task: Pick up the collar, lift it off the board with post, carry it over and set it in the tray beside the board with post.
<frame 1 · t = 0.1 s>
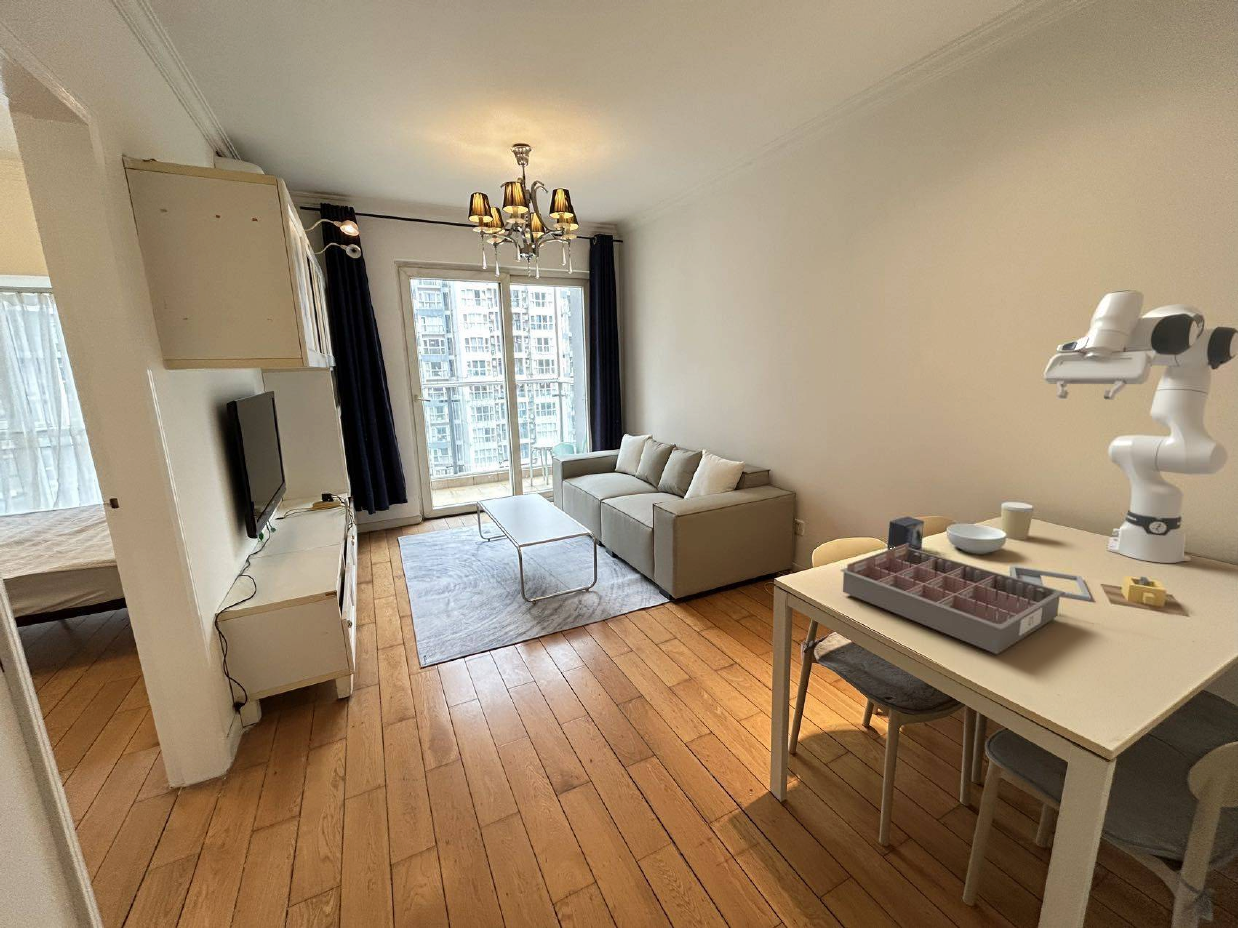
hand: (1084, 398, 128), 54 cm above the table, tool tilted 30°, fingers open, 8 cm apart
tray: (1046, 588, 142), on the table
board with post: (1140, 604, 131), on the table
collar: (1141, 598, 131), point 1 cm above the table, touching board with post
small box: (904, 549, 176), on the table
coffee cup: (1013, 536, 184), on the table
cereal bowl: (973, 550, 173), on the table
organizer tray: (942, 608, 134), on the table
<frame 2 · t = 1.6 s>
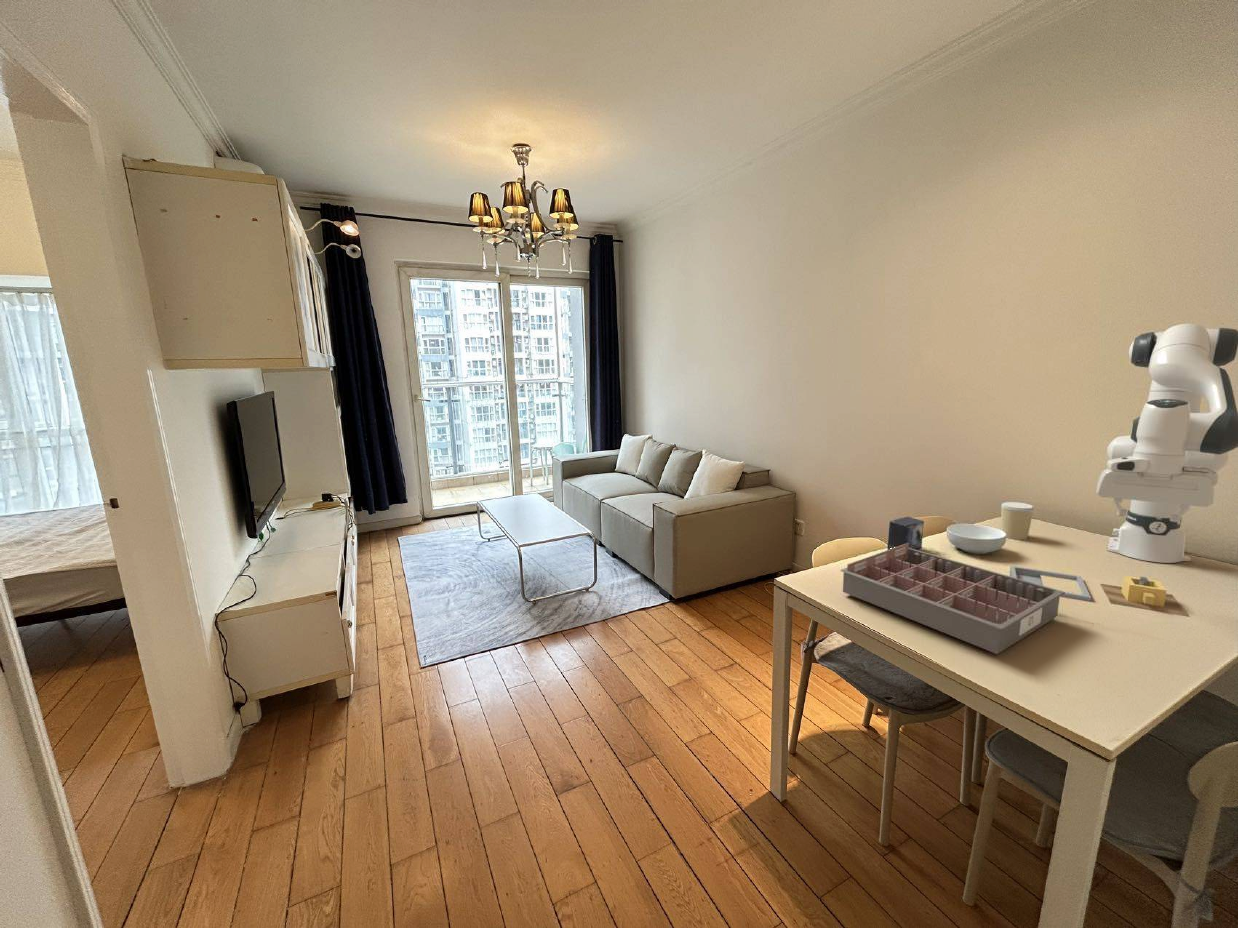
hand: (1147, 518, 127), 24 cm above the table, tool pointing down, fingers open, 8 cm apart
nothing on the table moved.
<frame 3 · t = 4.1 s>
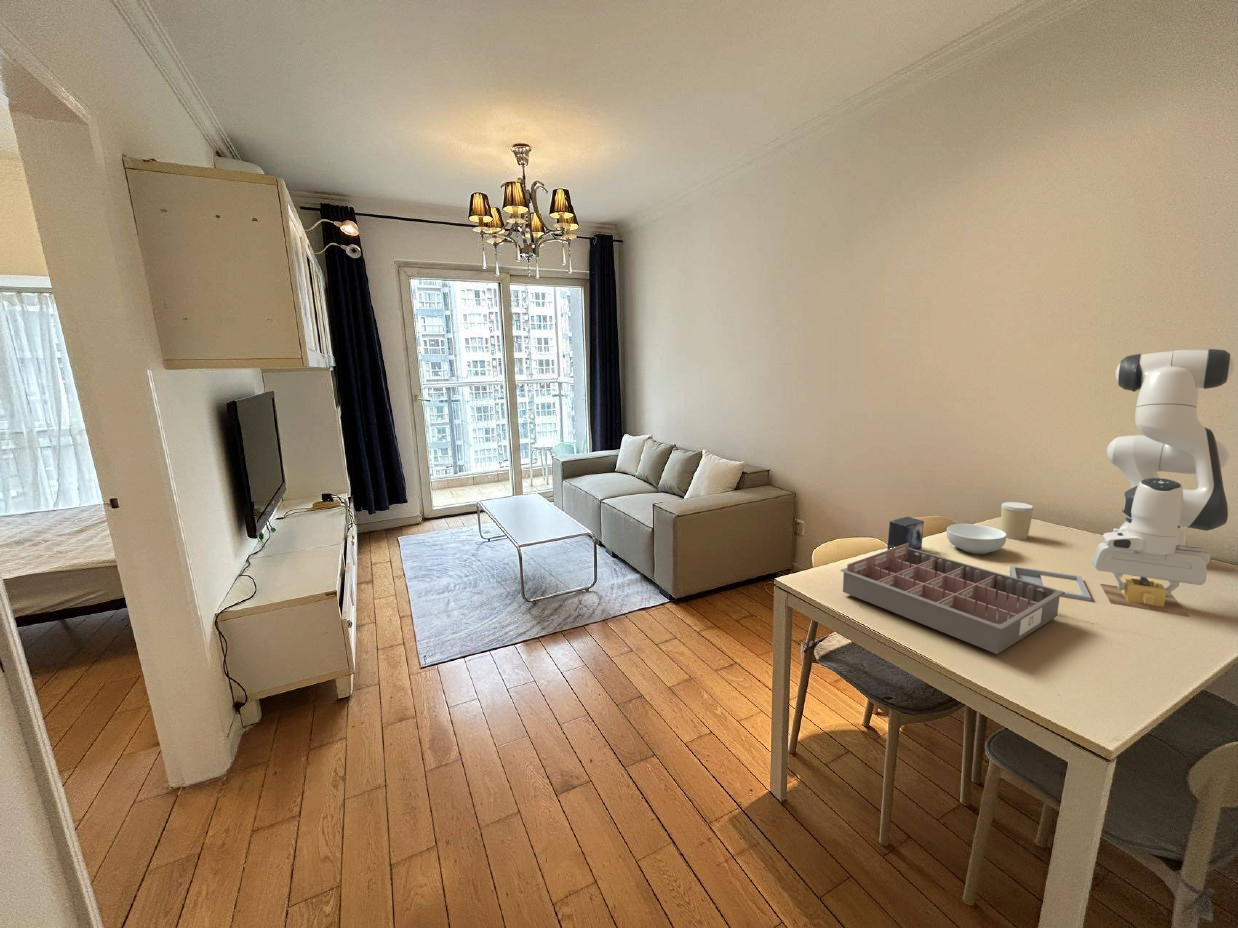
hand: (1142, 592, 130), 3 cm above the table, tool pointing down, fingers closed on collar, 7 cm apart
collar: (1141, 598, 131), point 1 cm above the table, touching gripper, board with post
everything else where it was.
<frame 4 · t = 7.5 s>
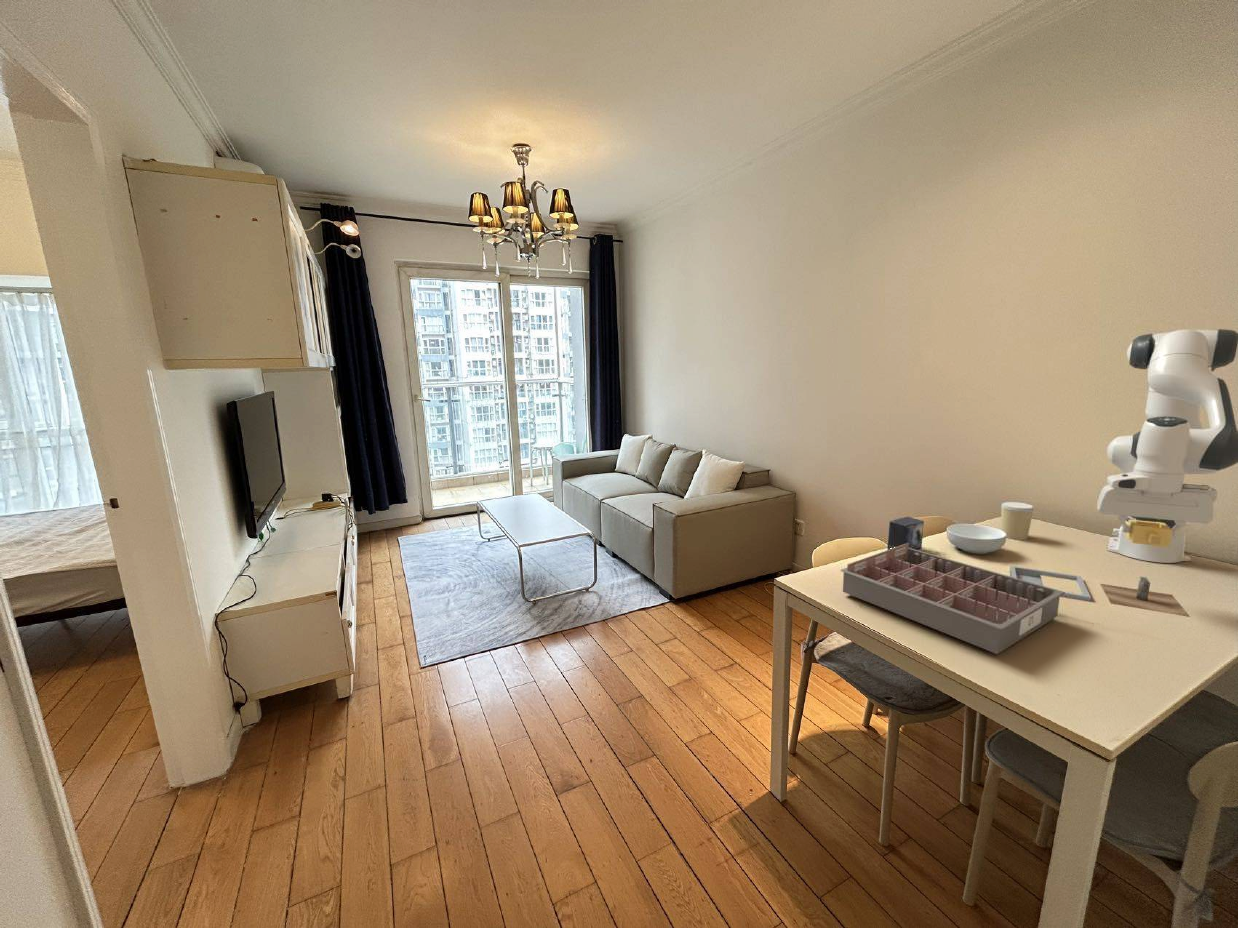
hand: (1148, 534, 128), 19 cm above the table, tool pointing down, fingers closed on collar, 7 cm apart
collar: (1147, 541, 128), point 17 cm above the table, touching gripper
everything else where it was.
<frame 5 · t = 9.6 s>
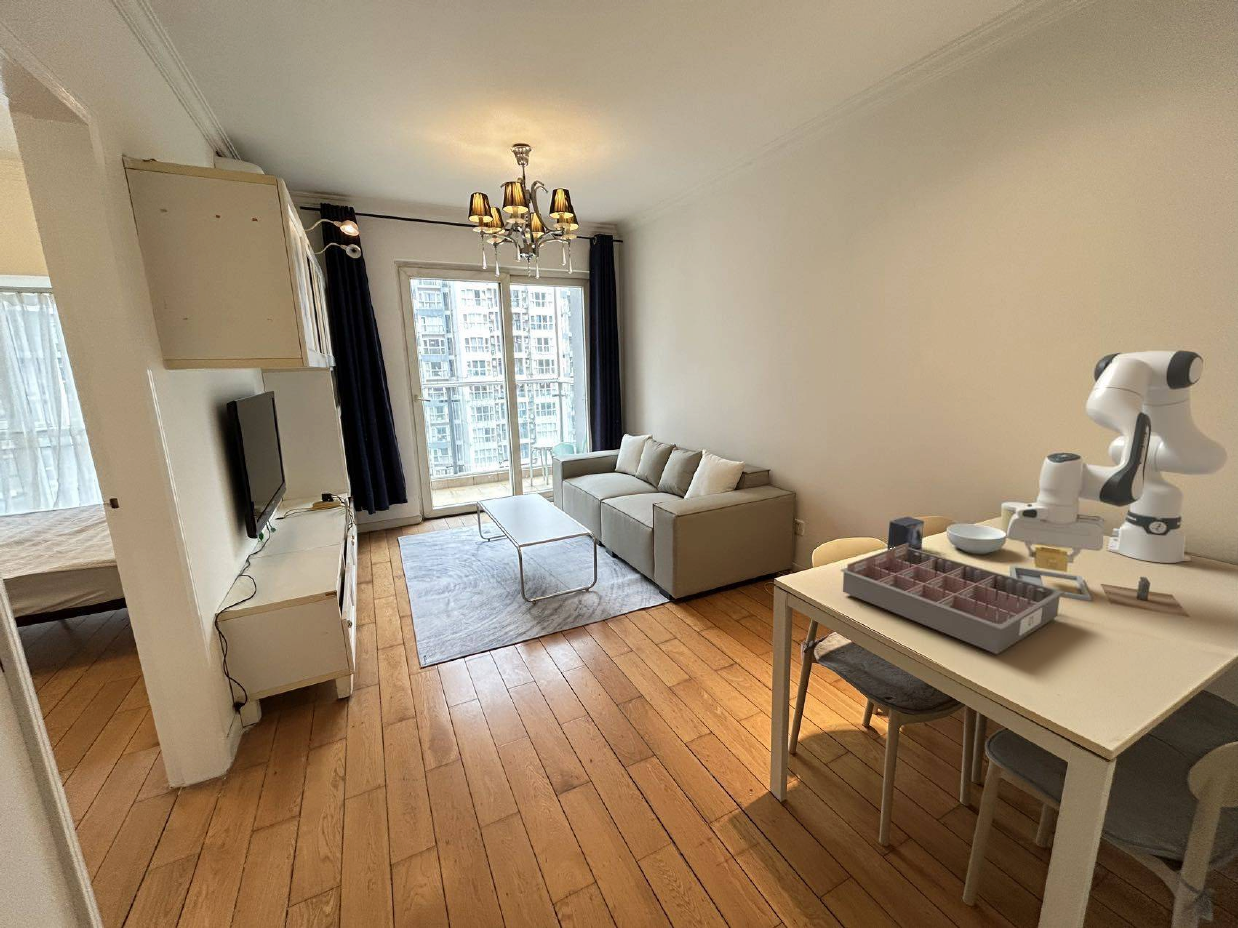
hand: (1050, 559, 140), 9 cm above the table, tool pointing down, fingers closed on collar, 7 cm apart
collar: (1049, 565, 141), point 7 cm above the table, touching gripper
everything else where it was.
when the fingers open (4 cm above the table, at t = 11.2 s): collar drops 1 cm, resting on tray.
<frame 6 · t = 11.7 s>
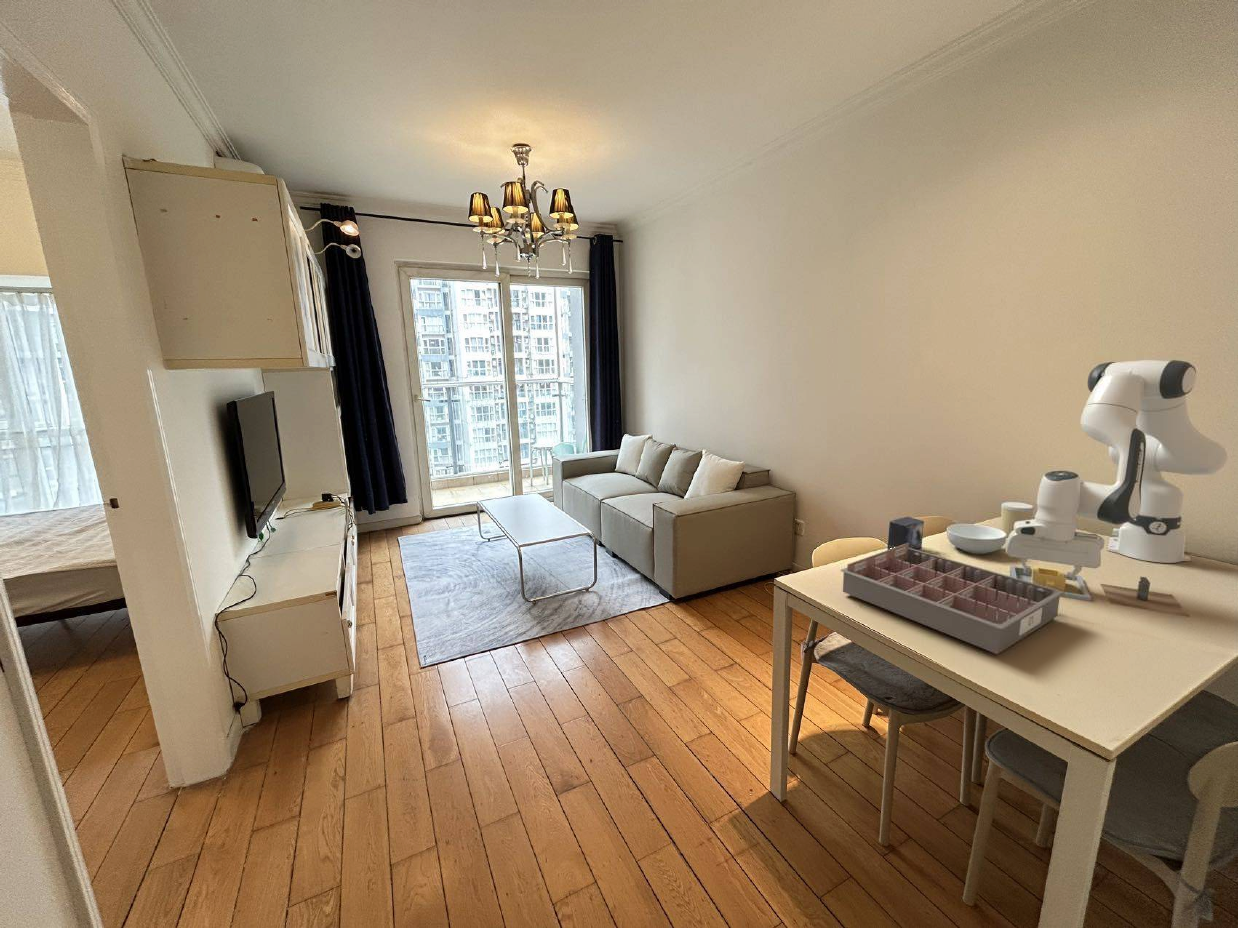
hand: (1048, 576, 141), 4 cm above the table, tool pointing down, fingers open, 8 cm apart
collar: (1046, 586, 142), resting on tray
everything else where it was.
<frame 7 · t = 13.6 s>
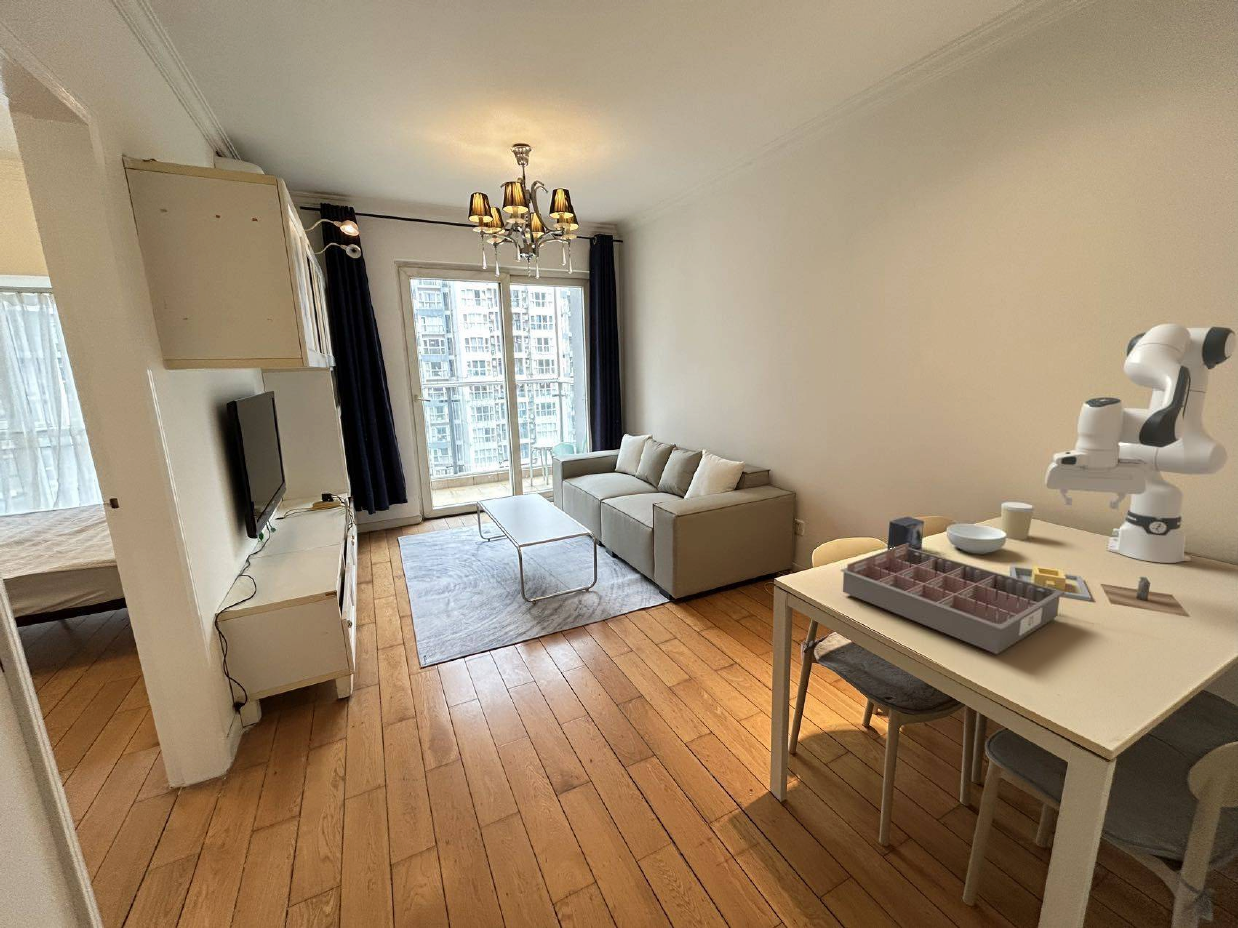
hand: (1090, 506, 139), 23 cm above the table, tool pointing down, fingers open, 8 cm apart
nothing on the table moved.
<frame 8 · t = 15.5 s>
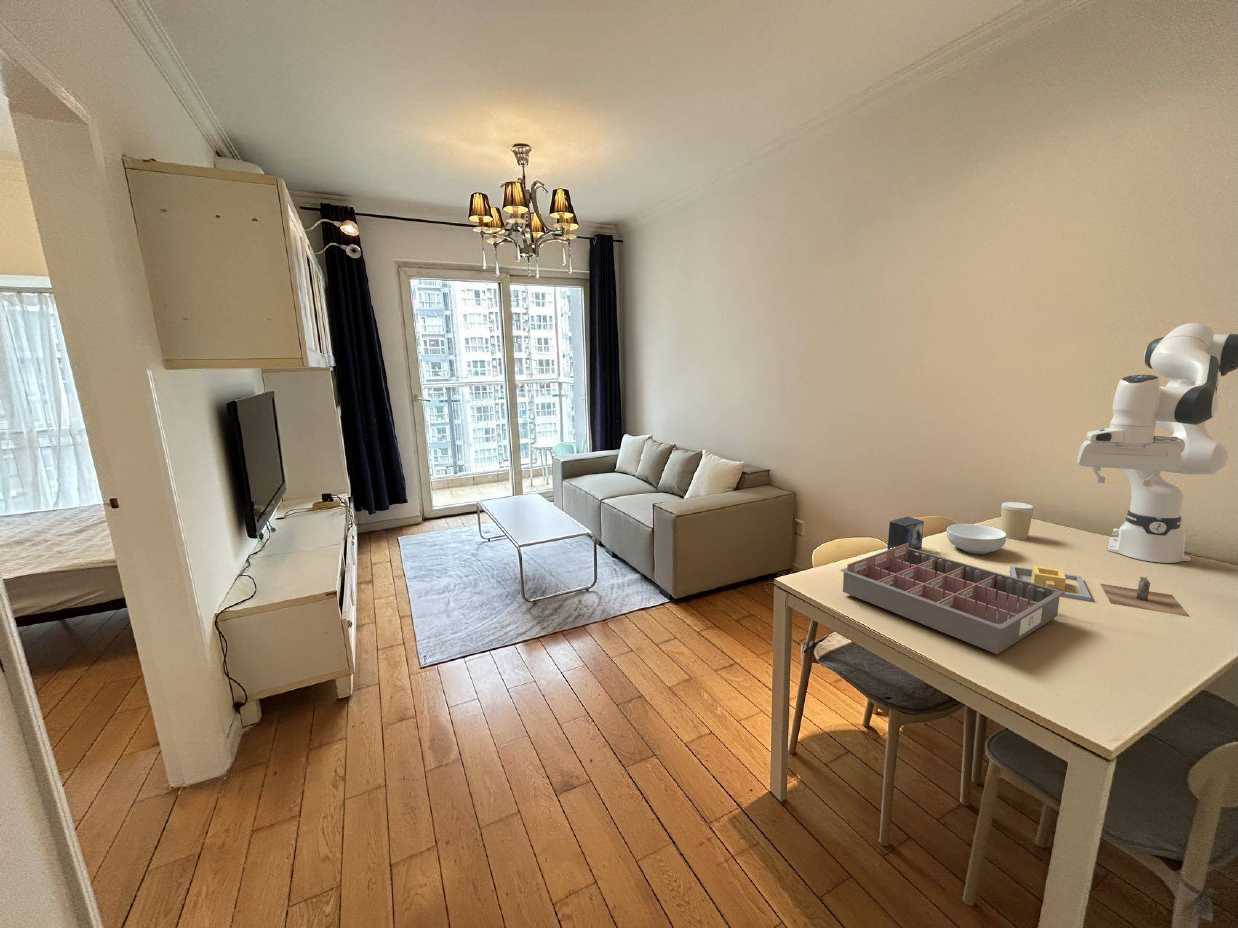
hand: (1123, 484, 139), 29 cm above the table, tool pointing down, fingers open, 8 cm apart
nothing on the table moved.
at the end: collar inside the target area on the tray (0.0 cm from its centre), point 0.5 cm above the tray's base; collar tilted 0°; the gripper is holding nothing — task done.
